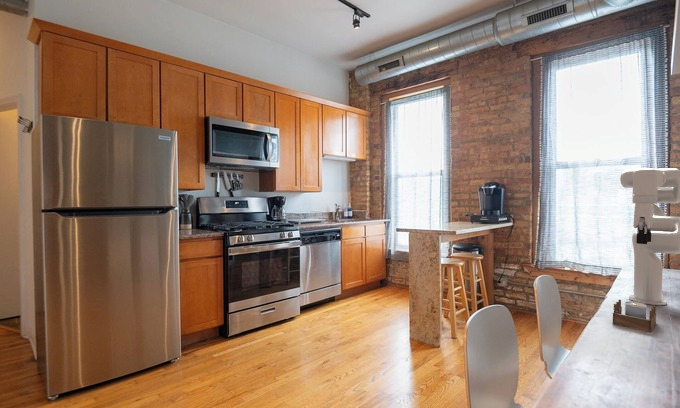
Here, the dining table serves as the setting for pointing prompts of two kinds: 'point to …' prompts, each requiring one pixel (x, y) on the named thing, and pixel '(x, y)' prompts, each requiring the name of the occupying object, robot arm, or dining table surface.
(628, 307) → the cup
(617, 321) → the rack
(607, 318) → the dining table surface
